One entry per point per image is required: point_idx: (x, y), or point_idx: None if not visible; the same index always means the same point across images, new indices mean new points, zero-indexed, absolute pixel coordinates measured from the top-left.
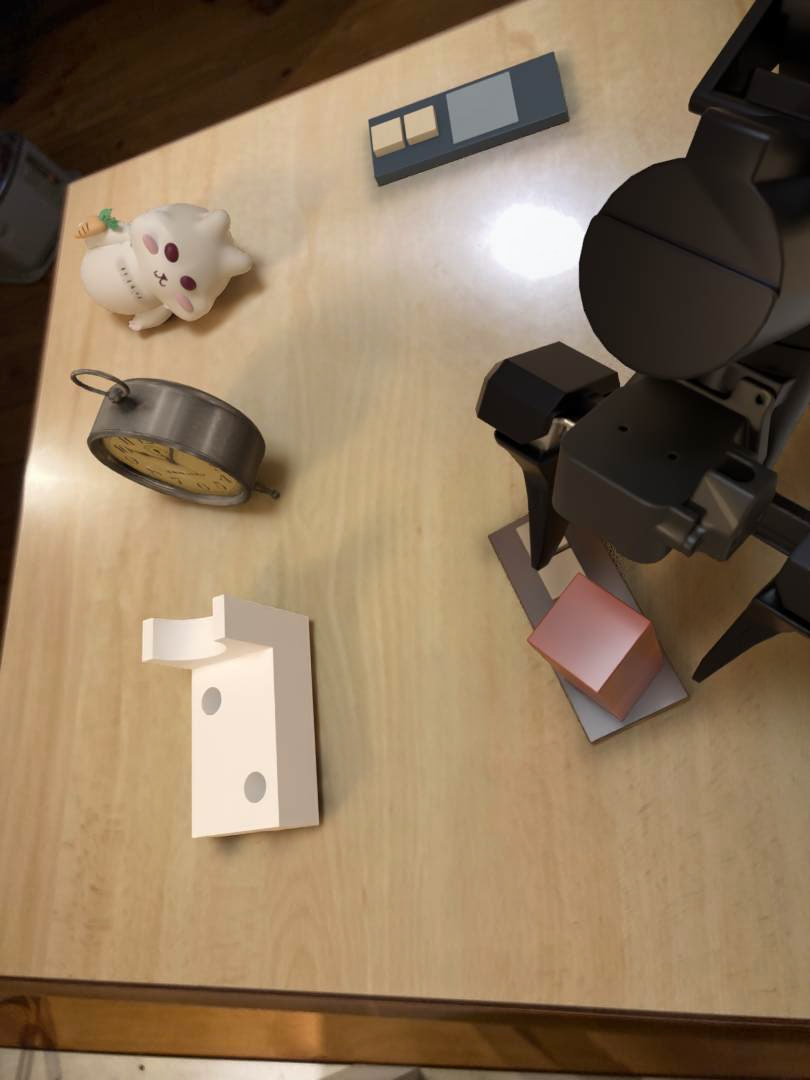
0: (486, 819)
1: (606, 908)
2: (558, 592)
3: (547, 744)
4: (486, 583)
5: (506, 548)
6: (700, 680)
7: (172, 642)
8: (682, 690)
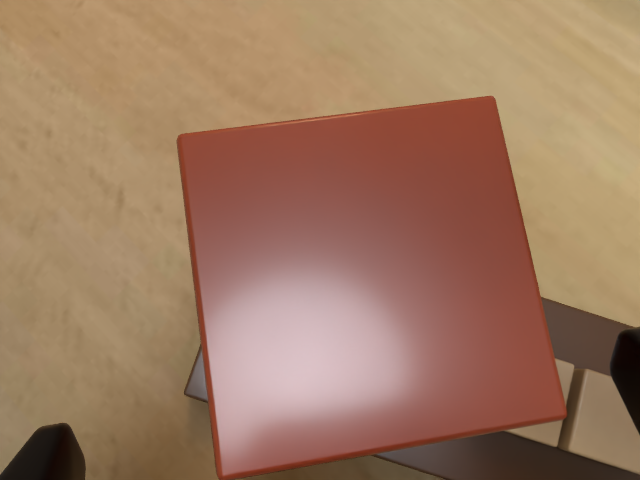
0: (287, 7)
1: (59, 51)
2: None
3: None
4: (599, 278)
5: None
6: (30, 438)
7: None
8: (199, 393)
